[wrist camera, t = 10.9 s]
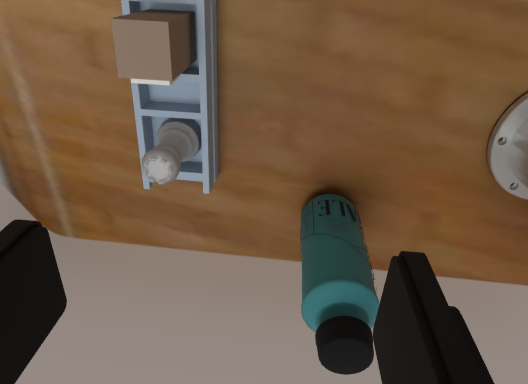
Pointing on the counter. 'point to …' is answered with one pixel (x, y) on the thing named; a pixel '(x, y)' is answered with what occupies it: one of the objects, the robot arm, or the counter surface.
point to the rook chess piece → (171, 150)
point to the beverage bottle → (337, 284)
